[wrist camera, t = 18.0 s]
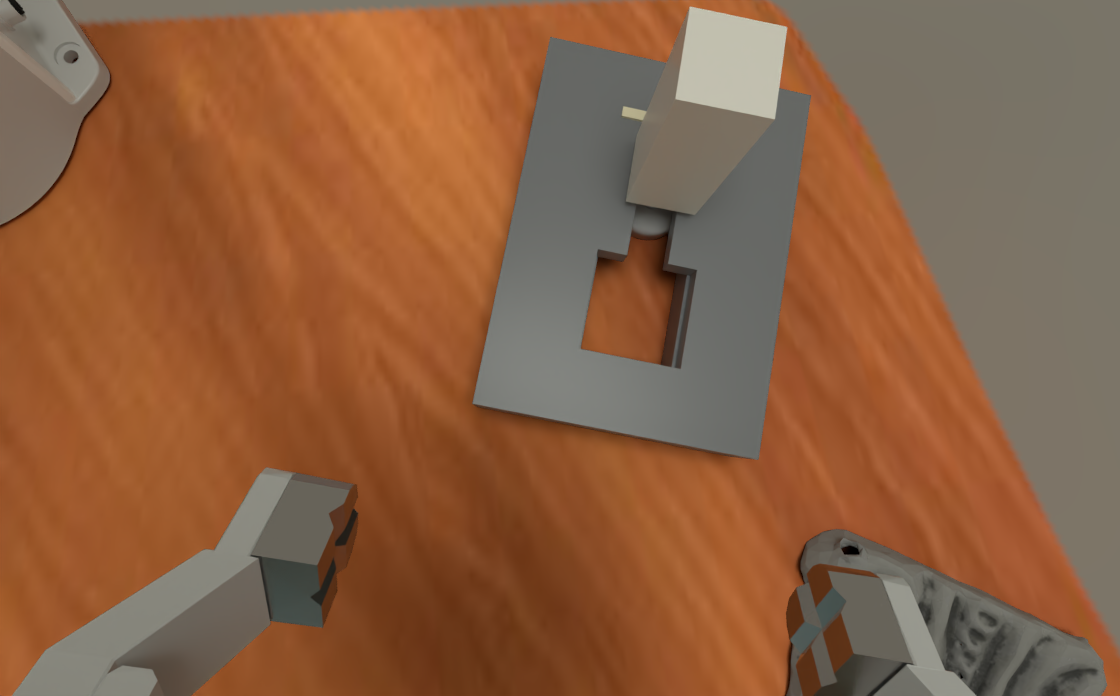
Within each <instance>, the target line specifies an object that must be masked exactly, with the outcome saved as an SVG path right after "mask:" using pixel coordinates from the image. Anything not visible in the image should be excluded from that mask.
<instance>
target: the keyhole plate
mask: <svg viewBox="0 0 1120 696" xmlns="http://www.w3.org/2000/svg"><path fill="white" fill-rule="evenodd" d="M665 66H666V63H664V62H660V61H655V60H651V59H646V58H642V57H637V56H633V55H628V54H624V53H620V52H615V51H611V50H606V49H602V48H597V47H593V46H588V45H584V44H579V43H575V42H571V41H566V40H562V39H557V38H553V37H550V42H549V46H548V51H547V56H546V60H545V65H544V70H543V74H542V79H541V84H540V89H539V93H538V98H537V103H536V107H535V112H534V117H533V121H532V126H531V131H530V136H529V140H528V145H527V150H526V154H525V159H524V164H523V168H522V173H521V178H520V183H519V187H518V192H517V197H516V201H515V206H514V211H513V215H512V220H511V225H510V230H509V234H508V239H507V244H506V248H505V253H504V258H503V262H502V267H501V272H500V276H499V281H498V286H497V291H496V295H495V300H494V305H493V309H492V314H491V319H490V323H489V328H488V333H487V338H486V342H485V347H484V352H483V356H482V361H481V366H480V370H479V375H478V380H477V385H476V389H475V394H474V399H473V403H472V404H474V405H475V406H477V407H480V408H485V409H490V410H495V411H500V412H506V413H511V414H516V415H521V416H526V417H531V418H536V419H541V420H546V421H551V422H557V423H562V424H567V425H572V426H577V427H582V428H587V429H592V430H597V431H602V432H607V433H613V434H618V435H623V436H628V437H633V438H638V439H643V440H648V441H653V442H658V443H664V444H669V445H674V446H679V447H684V448H689V449H694V450H699V451H704V452H709V453H714V454H720V455H725V456H730V457H738V458H747V459H756V460H758V459H759V452H760V445H761V438H762V432H763V425H764V418H765V411H766V404H767V397H768V390H769V383H770V376H771V369H772V362H773V355H774V348H775V341H776V334H777V327H778V321H779V314H780V307H781V300H782V293H783V286H784V279H785V272H786V265H787V258H788V251H789V244H790V237H791V230H792V223H793V216H794V210H795V203H796V196H797V189H798V182H799V175H800V168H801V161H802V154H803V147H804V140H805V133H806V126H807V119H808V112H809V105H810V99H811V95H807V94H802V93H798V92H793V91H789V90H784V89H780V88H779V92H778V100H777V108H776V115H775V120H774V121H773V122H772V123H771V125H770V126H769V127H768V128H767V129H766V131H765V132H764V133H763V134H762V135H761V137H760V138H759V139H758V140H757V141H756V143H755V144H754V145H753V146H752V147H751V149H750V150H749V151H748V152H747V153H746V155H745V156H744V157H743V158H742V159H741V161H740V162H739V163H738V164H737V165H736V167H735V168H734V169H733V170H732V171H731V173H730V174H729V175H728V176H727V177H726V179H725V180H724V181H723V182H722V183H721V184H720V186H719V187H718V188H717V189H716V190H715V192H714V193H713V194H712V195H711V196H710V198H709V199H708V200H707V201H706V202H705V204H704V205H703V206H702V207H701V208H700V210H699V211H698V212H697V213H696V214H695V215H692V214H687V213H682V212H677V211H673V212H672V218H671V223H670V229H669V235H668V241H667V246H666V252H665V258H664V264H663V269H662V270H664V271H669V272H674V273H677V274H676V279H675V285H674V291H673V297H672V303H671V309H670V315H669V321H668V326H667V332H666V338H665V344H664V350H663V356H662V362H661V365H658V364H653V363H648V362H643V361H638V360H633V359H628V358H623V357H618V356H613V355H608V354H603V353H598V352H594V351H589V350H584V349H581V343H582V338H583V333H584V328H585V322H586V317H587V312H588V307H589V301H590V296H591V291H592V285H593V280H594V275H595V270H596V264H597V259H598V257H602V258H607V259H612V260H617V261H621V262H623V261H624V259H625V258H626V256H627V253H628V247H629V242H630V236H631V231H632V225H633V220H634V215H635V209H636V203H631V202H626V196H627V190H628V184H629V178H630V172H631V166H632V160H633V154H634V148H635V142H636V136H637V133H638V131H639V128H640V126H641V124H642V121H643V119H644V116H645V114H646V112H647V109H648V107H649V104H650V102H651V99H652V97H653V95H654V92H655V90H656V87H657V85H658V82H659V80H660V78H661V75H662V73H663V70H664V68H665Z"/></svg>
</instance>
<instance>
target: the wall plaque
mask: <svg viewBox="0 0 1120 696" xmlns="http://www.w3.org/2000/svg"><path fill="white" fill-rule="evenodd" d="M847 546H852V547H854V548H856V549H858V551H859V555H844V553H843V551H842V550H841V549H842V548H843V547H847ZM817 564H827V565H833V566H839V567H846V568H852V569H859V570H865V571H871V572H872V573H878V574H885V575H891V576H897V577H901V578H903V579H904V580H905V581H906V582H907V583H908V584H909V586H910V588H911V591H912V593H913V595H914V598H915V600H916V602H917V605H918V607H919V609H920V612H921V614H922V617H923V619H924V621H925V624H926V626H927V628H928V631H929V633H930V635H931V638H932V640H933V643H934V645H935V647H936V650H937V652H938V654H939V657H940V659H941V661H942V664H943V666H944V669H945V670H946V671H951V672H954V673H955V674H956V675H957V676H958V677H959V678H960V673H961V675H962V676H963V678H962V679H961V680H962V681H963V682H964V683H965V684H966V685H967V686H968V688H969V689H970V690H971V691H972V692H973V693H974V694H975V695H976V696H1101V695H1102V693H1103V692H1104V690H1105V688H1106V686H1107V683H1106V678H1105V674H1104V670H1103V660H1102V659H1101V658H1100V657H1099V656H1098V655H1097V653H1096V652H1095V651H1094V649H1093V648H1092V647H1091V646H1090V645H1089V644H1088V640H1087V639H1085V638H1083V637H1076V636H1073V635H1070V634H1067V633H1064V632H1062V631H1060V630H1058V629H1056V628H1055V627H1053V626H1051V625H1049V624H1047V623H1046V622H1044V621H1042V620H1040V619H1038V618H1037V617H1035V616H1033V615H1031V614H1029V613H1026V612H1024V611H1021V610H1019V609H1017V608H1015V607H1013V606H1011V605H1009V604H1007V603H1005V602H1003V601H1001V600H999V599H997V598H995V597H993V596H992V595H990V594H988V593H986V592H984V591H982V590H980V589H977V588H975V587H972V586H970V585H967V584H964V583H962V582H959V581H957V580H955V579H953V578H951V577H949V576H947V575H945V574H943V573H941V572H939V571H937V570H934V569H932V568H930V567H927V566H925V565H923V564H921V563H919V562H917V561H915V560H913V559H911V558H909V557H907V556H904V555H902V554H900V553H898V552H896V551H894V550H892V549H890V548H887V547H885V546H882V545H880V544H878V543H875V542H873V541H870V540H868V539H865V538H863V537H861V536H858V535H856V534H854V533H852V532H849V531H847V530H839V529H835V530H830V531H824V532H822V533H820V534H818V535H817V536H815V537H813V538H812V539H810V540H809V541H808V542H807V543H806V546H805V549H804V552H803V556H802V559H801V572H802V575H803V580H804V582H805V584H806V583H809V581H808V577H807V573H808V571H809V570H810V569H811V568H812V566H814V565H817ZM961 643H962V645H960V644H961ZM800 655H801V653H800V652H799V651H798V650H797V648H796V647H795V646H794V645H793V643H792V655H791V675H790V686H789V689H788V693H787V695H786V696H803V694H802V690H801V686H800V682H799V678H798V673H797V669H796V663H797V661H798V659H799V657H800Z"/></svg>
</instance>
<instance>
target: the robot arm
mask: <svg viewBox="0 0 1120 696" xmlns="http://www.w3.org/2000/svg"><path fill="white" fill-rule="evenodd" d="M75 58H78V60H77V61H76V62H74V63H72V61H73V60H74V59H75ZM109 81H110V74H109V71H108V69H107V67H106V65H105V64H104V62H103V61H102V59H101V58H100V56H99V55H98V53H97V52H96V50H95V49H94V47H93V46H92V44H91V43H90V41H89V40H88V38H87V37H86V35H85V34H84V32H83V31H82V29H81V28H80V26H79V25H78V23H77V22H76V20H75V19H74V17H73V16H72V14H71V13H70V11H69V10H68V9H67V7H66V6H65V4H64V2H63V1H62V0H0V225H1V224H3V223H5V222H7V221H9V220H11V219H13V218H15V217H16V216H18V215H19V214H21V213H22V212H24V211H25V210H27V209H28V208H29V207H31V206H32V205H33V204H34V203H35V202H37V201H38V200H39V199H40V198H41V197H42V196H43V195H44V194H45V193H46V192H47V191H48V190H49V189H50V187H51V186H52V185H53V184H54V182H55V181H56V180H57V178H58V177H59V175H60V174H61V172H62V171H63V169H64V167H65V165H66V163H67V161H68V159H69V157H70V155H71V152H72V149H73V146H74V143H75V140H76V136H77V133H78V130H79V127H80V125H81V122H82V120H83V118H84V116H85V115H86V114H87V113H88V112H89V111H90V109H91V108H92V107H93V106H94V105H95V104H96V102H97V101H98V100H99V99H100V97H101V96H102V95H103V93H104V92H105V90H106V89H107V87H108V85H109ZM357 498H358V492H357V485H356V484H351V483H346V482H341V481H336V480H331V479H326V478H320V477H315V476H310V475H305V474H300V473H295V472H290V471H284V470H278V469H273V468H267V467H266V468H265V469H264V470H263V471H262V472H261V473H260V474H259V475H258V476H257V478H256V480H255V481H254V483H253V485H252V487H251V488H250V490H249V492H248V493H247V495H246V497H245V498H244V500H243V502H242V503H241V505H240V507H239V509H238V510H237V512H236V514H235V515H234V517H233V519H232V520H231V522H230V524H229V525H228V527H227V529H226V531H225V532H224V534H223V536H222V537H221V539H220V541H219V542H218V544H217V546H216V547H215V549H214V550H210V549H204V550H202V551H200V552H199V553H197V554H196V555H194V556H193V557H191V558H189V559H188V560H186V561H185V562H183V563H182V564H180V565H178V566H177V567H175V568H174V569H172V570H171V571H169V572H167V573H166V574H164V575H163V576H161V577H160V578H158V579H156V580H155V581H153V582H152V583H150V584H149V585H147V586H145V587H144V588H142V589H141V590H139V591H138V592H136V593H134V594H133V595H131V596H130V597H128V598H127V599H125V600H123V601H122V602H120V603H119V604H117V605H116V606H114V607H112V608H111V609H109V610H108V611H106V612H105V613H103V614H101V615H100V616H98V617H97V618H95V619H94V620H92V621H90V622H89V623H87V624H86V625H84V626H83V627H81V628H79V629H78V630H76V631H75V632H73V633H72V634H70V635H68V636H67V637H65V638H64V639H62V640H61V641H59V642H57V643H56V644H54V645H53V646H51V647H50V648H48V649H46V650H45V652H44V653H43V654H42V656H41V657H40V658H39V660H38V661H37V662H36V664H35V665H34V667H33V668H32V669H31V671H30V672H29V673H28V675H27V676H26V677H25V679H24V680H23V682H22V683H21V684H20V686H19V687H18V688H17V690H16V691H15V692H14V694H13V695H12V696H191V695H192V694H193V693H194V692H196V691H197V690H198V689H199V688H200V687H201V686H202V685H203V684H205V683H206V682H207V681H208V680H209V679H210V678H211V677H212V676H213V675H215V674H216V673H217V672H218V671H219V670H220V669H221V668H222V667H224V666H225V665H226V664H227V663H228V662H229V661H230V660H231V659H232V658H234V657H235V656H236V655H237V654H238V653H239V652H240V651H241V650H243V649H244V648H245V647H246V646H247V645H248V644H249V643H250V642H251V641H253V640H254V639H255V638H256V637H257V636H258V635H259V634H260V633H261V632H263V631H264V630H265V629H266V628H267V627H268V626H269V625H270V624H271V622H270V621H276V622H283V623H291V624H298V625H306V626H314V627H321V628H323V626H324V624H325V621H326V619H327V616H328V614H329V611H330V608H331V606H332V603H333V601H334V598H335V596H336V593H337V574H338V573H339V572H340V571H342V570H343V569H344V568H346V567H347V564H348V561H349V559H350V556H351V553H352V550H353V546H354V542H355V539H356V535H357V527H358V513H357V512H356V511H355V509H354V505H355V503H356V500H357ZM807 577H808V581H809V583H806V584H804V585H802V586H799V587H797V588H796V589H795V590H794V592H793V593H792V595H791V596H790V598H789V601H788V606H787V611H786V621H787V629H788V634H789V639H790V641H791V642H792V643H793V645H794V646H795V647H796V648H797V650H798V651H799V652H800V653H801V655H800V657H799V659H798V661H797V663H796V669H797V673H798V678H799V682H800V686H801V690H802V694H803V696H976V695H975V694H974V693H973V692H972V691H971V690H970V689H969V688H968V686H967V685H966V684H965V683H964V682H963V681H962V680H961V679H960V678H959V677H958V676H957V675H956V674H955V673H954V672H951V671H946V670H945V669H944V666H943V664H942V661H941V659H940V657H939V654H938V652H937V650H936V647H935V645H934V643H933V640H932V638H931V635H930V633H929V631H928V628H927V626H926V624H925V621H924V619H923V617H922V614H921V612H920V609H919V607H918V605H917V602H916V600H915V598H914V595H913V593H912V591H911V588H910V586H909V584H908V583H907V582H906V581H905V580H904V579H903V578H901V577H897V576H891V575H885V574H878V573H872V572H871V571H865V570H859V569H852V568H846V567H839V566H833V565H827V564H817V565H814V566H812V568H811V569H810V570H809V571H808V573H807Z"/></svg>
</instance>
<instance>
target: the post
mask: <svg viewBox="0 0 1120 696" xmlns="http://www.w3.org/2000/svg"><path fill="white" fill-rule="evenodd" d="M786 32H787V27H785V26H780V25H775V24H770V23H766V22H761V21H756V20H751V19H747V18H742V17H737V16H733V15H728V14H723V13H718V12H714V11H709V10H704V9H699V8H695V7H690V8H689V10H688V12H687V15H686V17H685V20H684V22H683V24H682V27H681V29H680V32H679V34H678V37H677V39H676V41H675V44H674V46H673V49H672V51H671V53H670V56H669V58H668V61H667V63H666V66H665V68H664V70H663V73H662V75H661V78H660V80H659V82H658V85H657V87H656V90H655V92H654V95H653V97H652V99H651V102H650V104H649V107H648V109H647V112H646V114H645V116H644V119H643V121H642V124H641V126H640V128H639V131H638V133H637V136H636V142H635V148H634V154H633V160H632V166H631V172H630V178H629V184H628V190H627V196H626V202H631V203H636V209H635V215H634V220H633V225H632V231H631V236H632V237H635V238H637V239H641V240H655V239H658V238H661V237H663V236H665V235H667V234H668V233H669V229H670V223H671V218H672V212H673V211H677V212H682V213H687V214H692V215H695V214H696V213H697V212H698V211H699V210H700V208H701V207H702V206H703V205H704V204H705V202H706V201H707V200H708V199H709V198H710V196H711V195H712V194H713V193H714V192H715V190H716V189H717V188H718V187H719V186H720V184H721V183H722V182H723V181H724V180H725V179H726V177H727V176H728V175H729V174H730V173H731V171H732V170H733V169H734V168H735V167H736V165H737V164H738V163H739V162H740V161H741V159H742V158H743V157H744V156H745V155H746V153H747V152H748V151H749V150H750V149H751V147H752V146H753V145H754V144H755V143H756V141H757V140H758V139H759V138H760V137H761V135H762V134H763V133H764V132H765V131H766V129H767V128H768V127H769V126H770V125H771V123H772V122H773V121H774V120H775V115H776V108H777V100H778V92H779V85H780V77H781V70H782V62H783V55H784V47H785V40H786Z"/></svg>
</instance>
